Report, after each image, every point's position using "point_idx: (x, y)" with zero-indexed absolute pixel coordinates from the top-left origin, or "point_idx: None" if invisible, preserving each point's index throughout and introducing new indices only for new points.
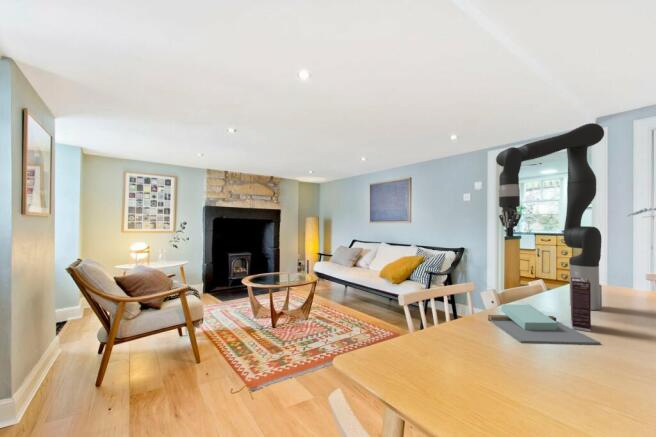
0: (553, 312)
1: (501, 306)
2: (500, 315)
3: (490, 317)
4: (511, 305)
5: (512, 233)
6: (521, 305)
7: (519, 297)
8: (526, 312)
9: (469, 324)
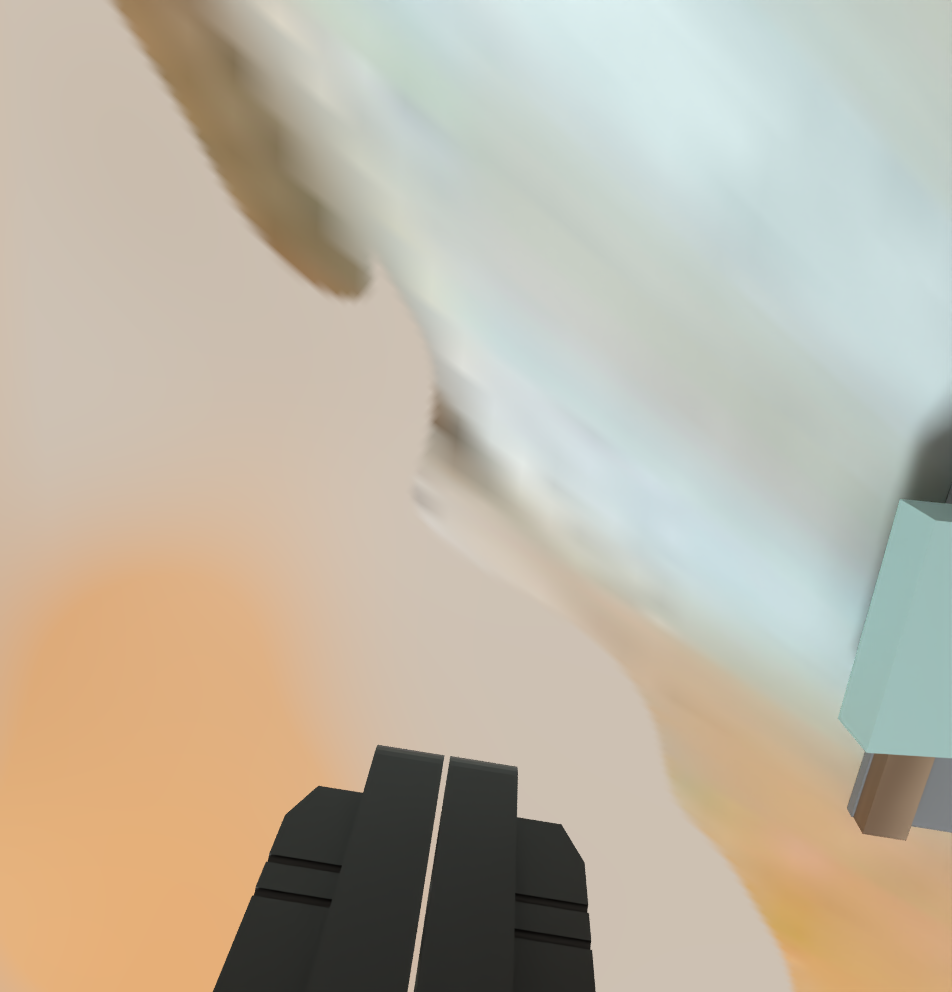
0: (784, 116)
1: (861, 743)
2: (896, 758)
3: (895, 833)
4: (909, 687)
5: (577, 917)
6: (932, 604)
7: (196, 29)
8: None
9: (901, 965)
